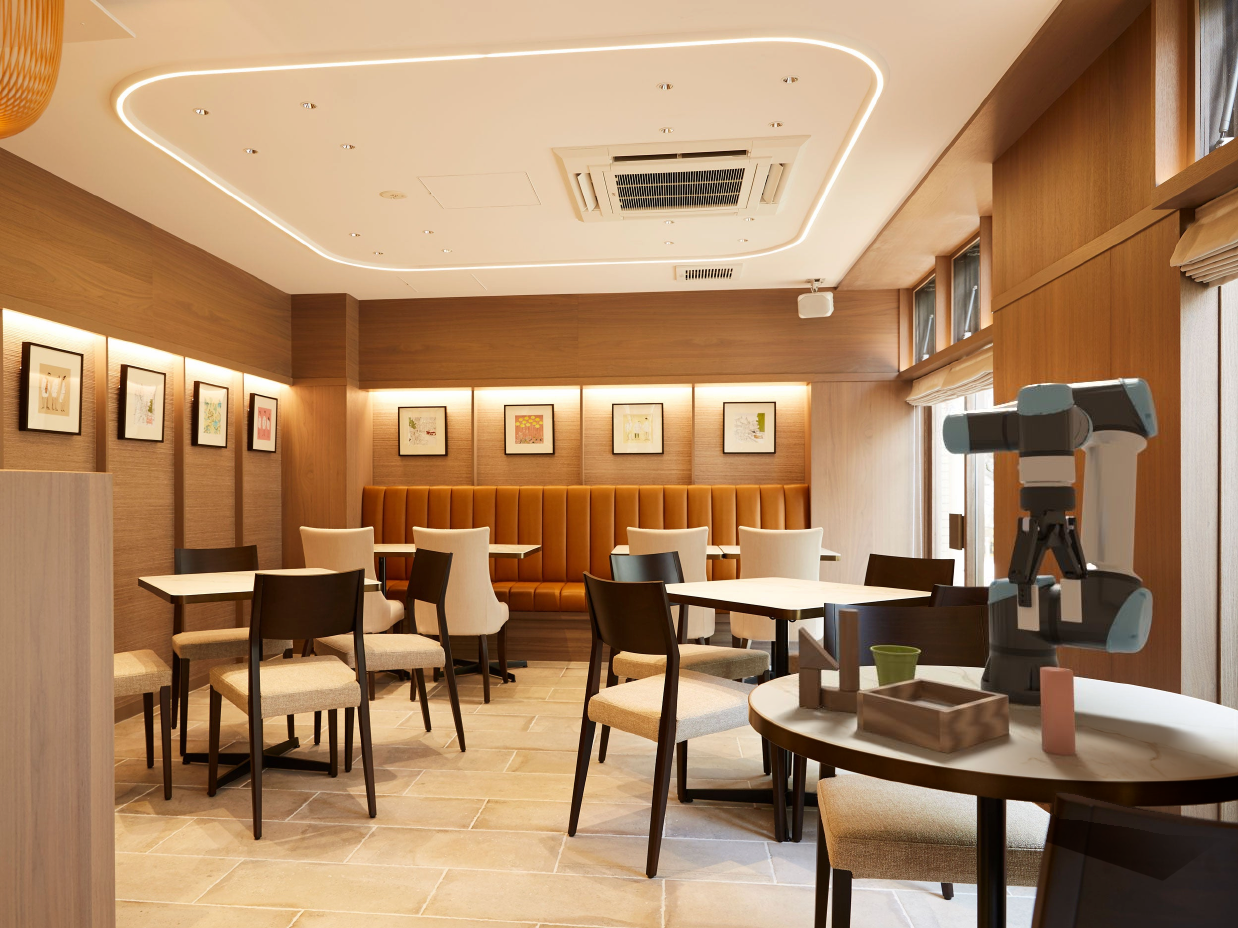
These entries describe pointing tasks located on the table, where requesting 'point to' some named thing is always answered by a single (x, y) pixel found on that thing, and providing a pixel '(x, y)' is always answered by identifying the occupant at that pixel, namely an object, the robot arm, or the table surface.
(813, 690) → the brown wooden stacked blocks
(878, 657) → the plant pot
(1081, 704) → the table surface
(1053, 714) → the peg
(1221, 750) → the table surface
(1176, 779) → the table surface
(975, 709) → the box
